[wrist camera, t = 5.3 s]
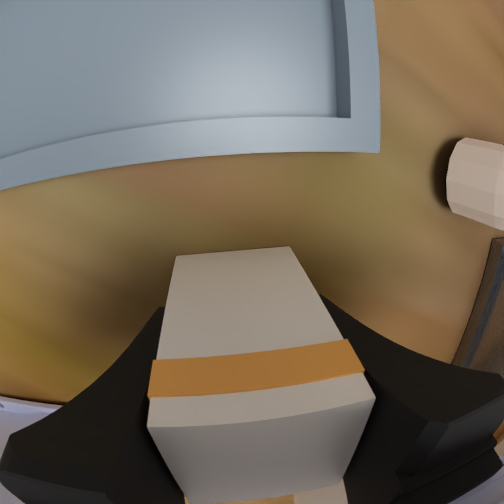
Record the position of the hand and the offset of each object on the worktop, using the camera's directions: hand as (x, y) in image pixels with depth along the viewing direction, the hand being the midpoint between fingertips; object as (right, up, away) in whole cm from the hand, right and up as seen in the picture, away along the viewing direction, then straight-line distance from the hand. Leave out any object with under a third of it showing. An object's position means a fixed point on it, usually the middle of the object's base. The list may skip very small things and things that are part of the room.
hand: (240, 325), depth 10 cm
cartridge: (0, +1, +1) cm, 2 cm away
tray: (-4, +9, -3) cm, 11 cm away
